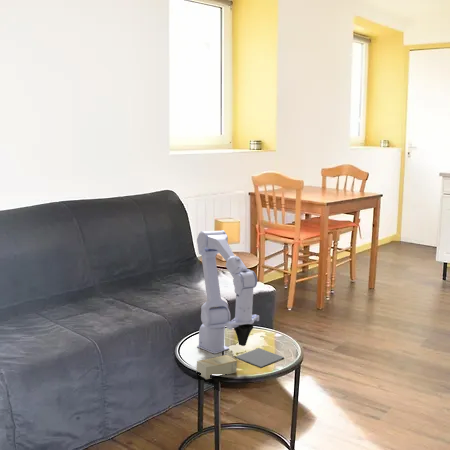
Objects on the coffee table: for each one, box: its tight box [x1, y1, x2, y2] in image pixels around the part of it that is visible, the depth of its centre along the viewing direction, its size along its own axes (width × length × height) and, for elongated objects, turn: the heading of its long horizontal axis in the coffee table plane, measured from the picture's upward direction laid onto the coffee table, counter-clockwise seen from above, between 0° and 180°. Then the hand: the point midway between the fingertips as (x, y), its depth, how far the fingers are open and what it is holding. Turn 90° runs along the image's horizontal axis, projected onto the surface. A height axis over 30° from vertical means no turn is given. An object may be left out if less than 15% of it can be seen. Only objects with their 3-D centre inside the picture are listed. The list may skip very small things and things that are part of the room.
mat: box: [234, 347, 285, 369], centre depth 206 cm, size 12×13×1 cm
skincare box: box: [196, 354, 238, 380], centre depth 191 cm, size 6×4×12 cm
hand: (242, 344), depth 196 cm, fingers closed
